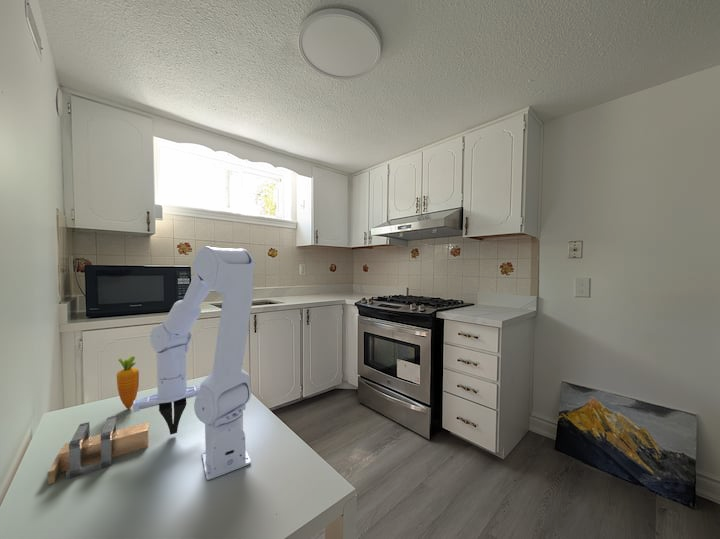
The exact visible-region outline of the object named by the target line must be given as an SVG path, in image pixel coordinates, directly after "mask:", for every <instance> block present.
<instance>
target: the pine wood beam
mask: <svg viewBox="0 0 720 539" xmlns="http://www.w3.org/2000/svg"><path fill="white" fill-rule="evenodd" d="M149 443H150V422H149V421H148V422H144V423H140V424H136V425H132V426H128V427H125V428H124V427H123V428H120V429H117V430H116V431H113V433H112V458H114V457H118V456H120V455H121V456H122V455H124V454H128V453H130V452H131V453H132V452H134V451H138V450H142V449H145V448H148V447H149ZM69 444H70V442H66V443H64V444H63V447H61V448H62V450H61V449H60V450H61V452H60V453H59V452H58V453H59V469H60V473H59V474H61V473H63V472H67V470H68V469H70V462H69ZM97 460H101V434H96V435H93V436H90V437H89V438H85V439H83V441H82V465H84V464H87V463H91V462H94V461H97Z"/></svg>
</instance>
